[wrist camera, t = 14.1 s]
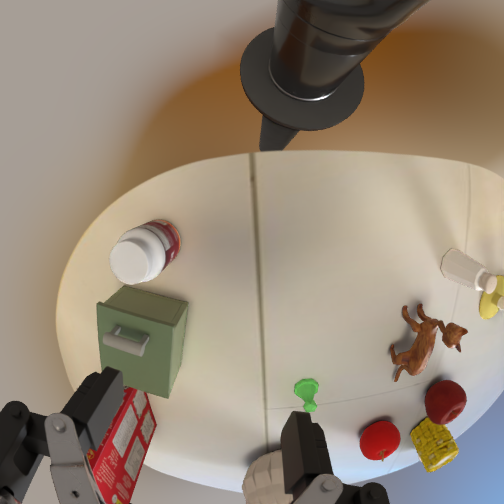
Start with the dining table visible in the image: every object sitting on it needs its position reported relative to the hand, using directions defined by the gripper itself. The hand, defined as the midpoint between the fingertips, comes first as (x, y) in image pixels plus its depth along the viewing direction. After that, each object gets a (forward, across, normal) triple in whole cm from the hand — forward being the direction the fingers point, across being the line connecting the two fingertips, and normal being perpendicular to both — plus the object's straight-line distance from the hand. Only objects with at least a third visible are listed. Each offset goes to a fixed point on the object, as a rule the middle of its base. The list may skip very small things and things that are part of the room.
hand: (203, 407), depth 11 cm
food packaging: (+27, +13, +34) cm, 45 cm away
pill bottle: (+27, +11, +1) cm, 29 cm away
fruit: (+27, -38, +32) cm, 56 cm away
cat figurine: (+27, -31, +8) cm, 42 cm away
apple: (+27, -48, +20) cm, 59 cm away
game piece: (+27, -16, +21) cm, 38 cm away
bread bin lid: (+19, +11, +15) cm, 26 cm away
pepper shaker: (+27, -35, -7) cm, 45 cm away
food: (+27, -56, +34) cm, 71 cm away
